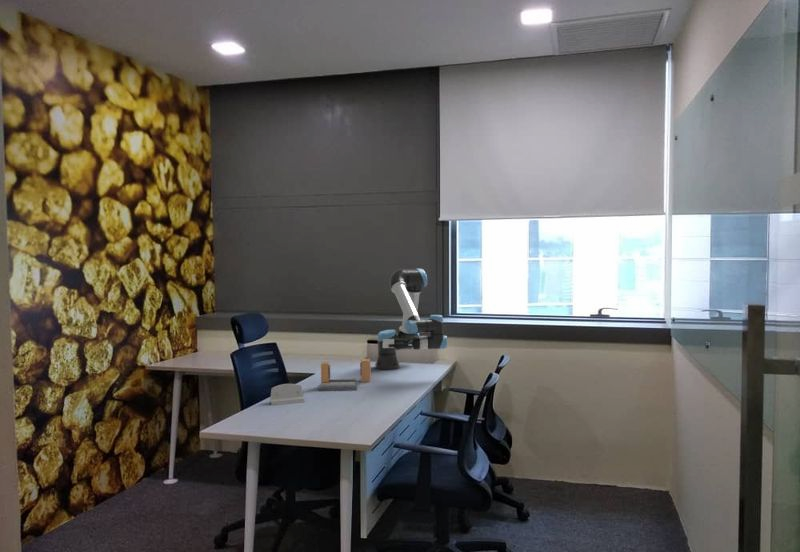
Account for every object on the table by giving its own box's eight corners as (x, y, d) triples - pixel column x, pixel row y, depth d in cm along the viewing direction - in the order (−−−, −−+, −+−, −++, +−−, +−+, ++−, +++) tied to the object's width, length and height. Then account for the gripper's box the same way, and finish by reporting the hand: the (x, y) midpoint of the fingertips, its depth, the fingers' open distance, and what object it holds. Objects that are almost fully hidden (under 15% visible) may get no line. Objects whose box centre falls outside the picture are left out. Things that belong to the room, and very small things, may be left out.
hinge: (270, 405, 279) (269, 384, 282) (270, 406, 284) (269, 385, 287) (304, 402, 284) (303, 381, 287) (303, 402, 289) (302, 382, 291)
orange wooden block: (361, 379, 329) (360, 359, 329) (370, 379, 330) (370, 359, 329) (360, 381, 324) (360, 360, 324) (370, 381, 325) (369, 360, 324)
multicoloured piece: (321, 384, 320) (321, 360, 319) (358, 383, 320) (357, 359, 319) (318, 390, 306) (317, 365, 305) (356, 390, 306) (356, 365, 305)
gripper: (421, 353, 313) (382, 354, 313) (419, 345, 338) (383, 346, 338) (420, 339, 313) (382, 340, 313) (418, 333, 338) (382, 333, 338)
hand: (382, 343), depth 325 cm, fingers open, 13 cm apart
